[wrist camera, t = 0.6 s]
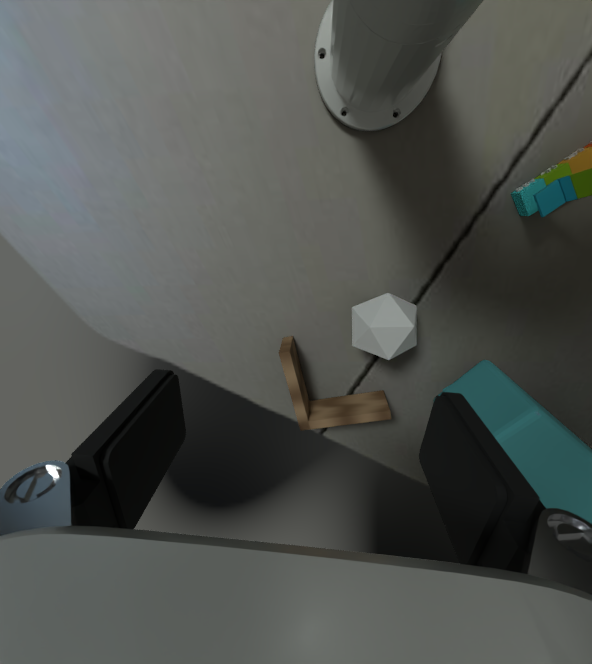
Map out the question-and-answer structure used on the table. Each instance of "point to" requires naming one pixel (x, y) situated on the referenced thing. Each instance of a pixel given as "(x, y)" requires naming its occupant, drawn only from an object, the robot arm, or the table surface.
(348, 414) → the bracket
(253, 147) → the table surface
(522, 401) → the radio
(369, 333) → the die
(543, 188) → the chart
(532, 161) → the table surface
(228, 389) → the table surface
